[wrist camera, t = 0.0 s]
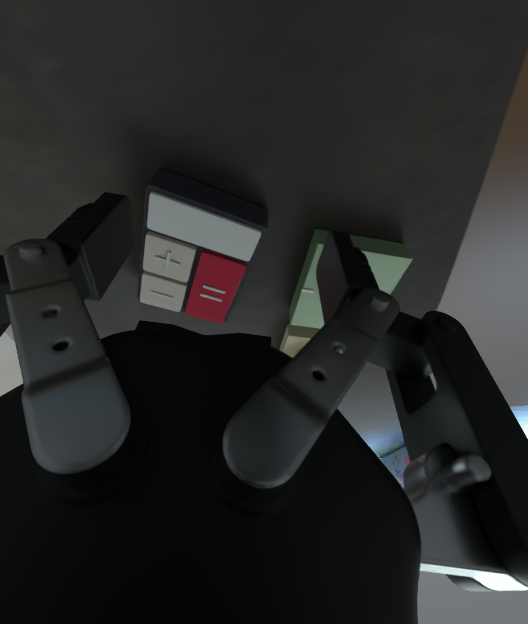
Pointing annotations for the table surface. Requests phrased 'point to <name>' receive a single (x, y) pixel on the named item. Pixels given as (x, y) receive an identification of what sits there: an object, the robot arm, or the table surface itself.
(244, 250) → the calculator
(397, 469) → the pencil case
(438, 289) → the table surface
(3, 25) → the table surface
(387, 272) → the plate
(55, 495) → the robot arm
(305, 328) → the box
